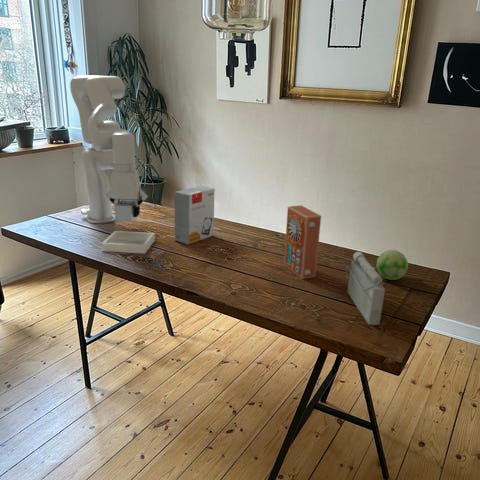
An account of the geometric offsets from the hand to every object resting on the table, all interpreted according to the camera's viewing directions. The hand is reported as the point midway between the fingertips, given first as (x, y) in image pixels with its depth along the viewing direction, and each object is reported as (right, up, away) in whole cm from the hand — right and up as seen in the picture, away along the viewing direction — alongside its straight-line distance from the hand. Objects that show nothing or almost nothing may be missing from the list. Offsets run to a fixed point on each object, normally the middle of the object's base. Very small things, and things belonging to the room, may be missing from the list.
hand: (127, 215), depth 169 cm
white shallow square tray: (0, -11, +4) cm, 12 cm away
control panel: (+62, -20, -13) cm, 66 cm away
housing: (0, -1, 0) cm, 1 cm away
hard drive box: (+23, -9, +14) cm, 29 cm away
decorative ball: (+92, -22, -17) cm, 96 cm away
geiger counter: (+77, -28, -34) cm, 88 cm away
